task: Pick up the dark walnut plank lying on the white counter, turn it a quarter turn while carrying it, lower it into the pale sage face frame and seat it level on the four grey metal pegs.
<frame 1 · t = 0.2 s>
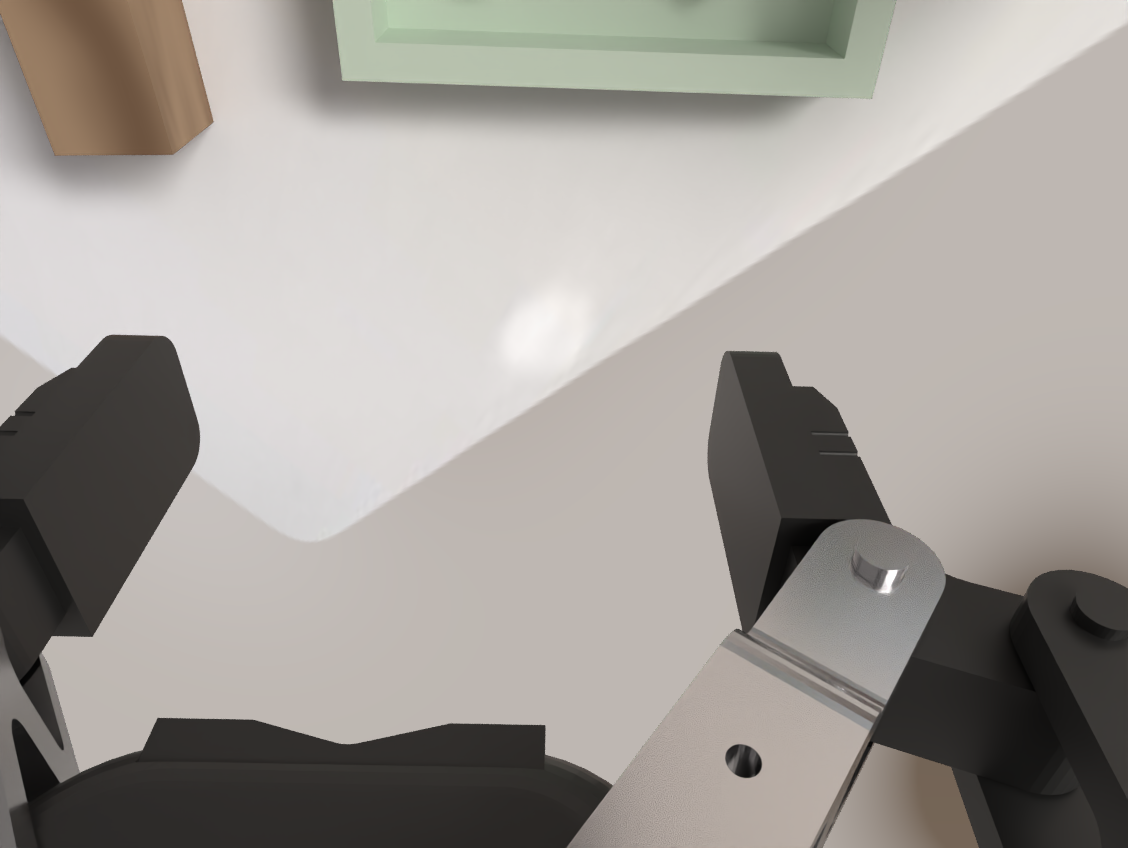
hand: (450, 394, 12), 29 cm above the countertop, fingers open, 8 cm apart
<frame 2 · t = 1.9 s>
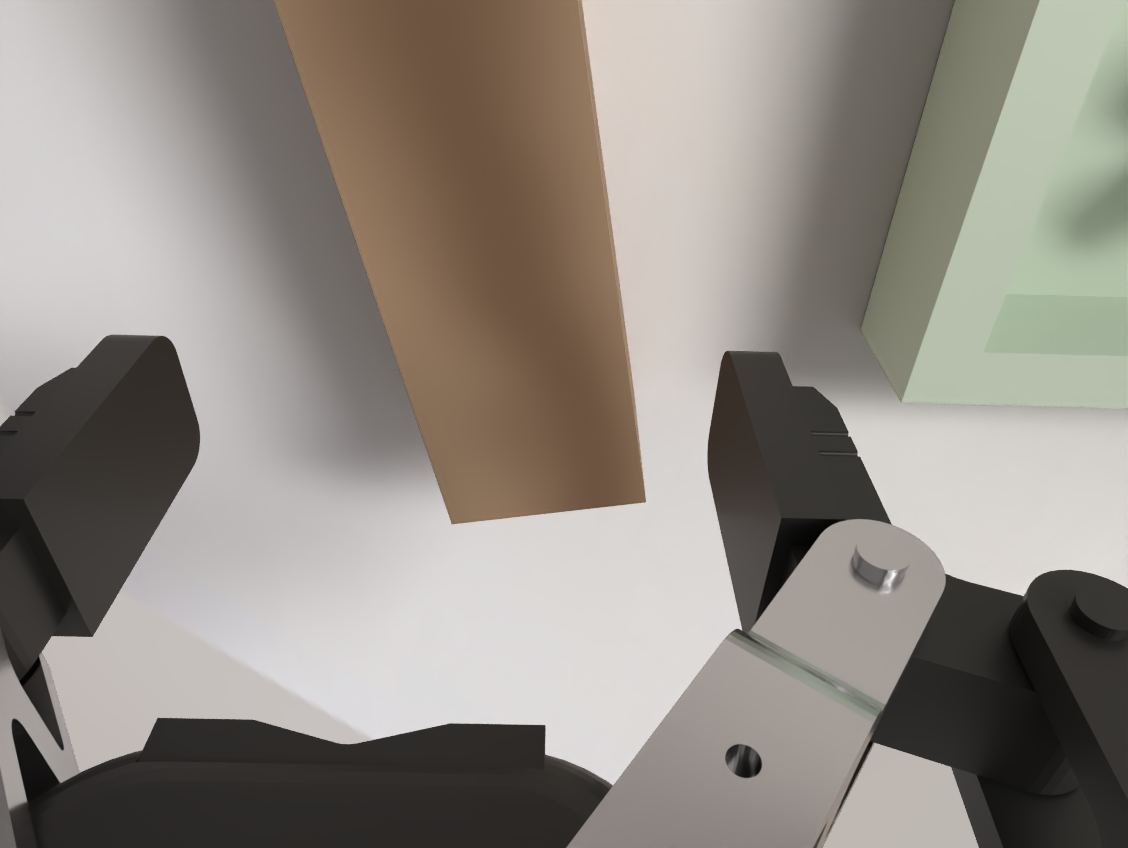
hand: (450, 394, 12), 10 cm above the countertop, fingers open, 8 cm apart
walnut plank: (500, 155, 20), on the countertop
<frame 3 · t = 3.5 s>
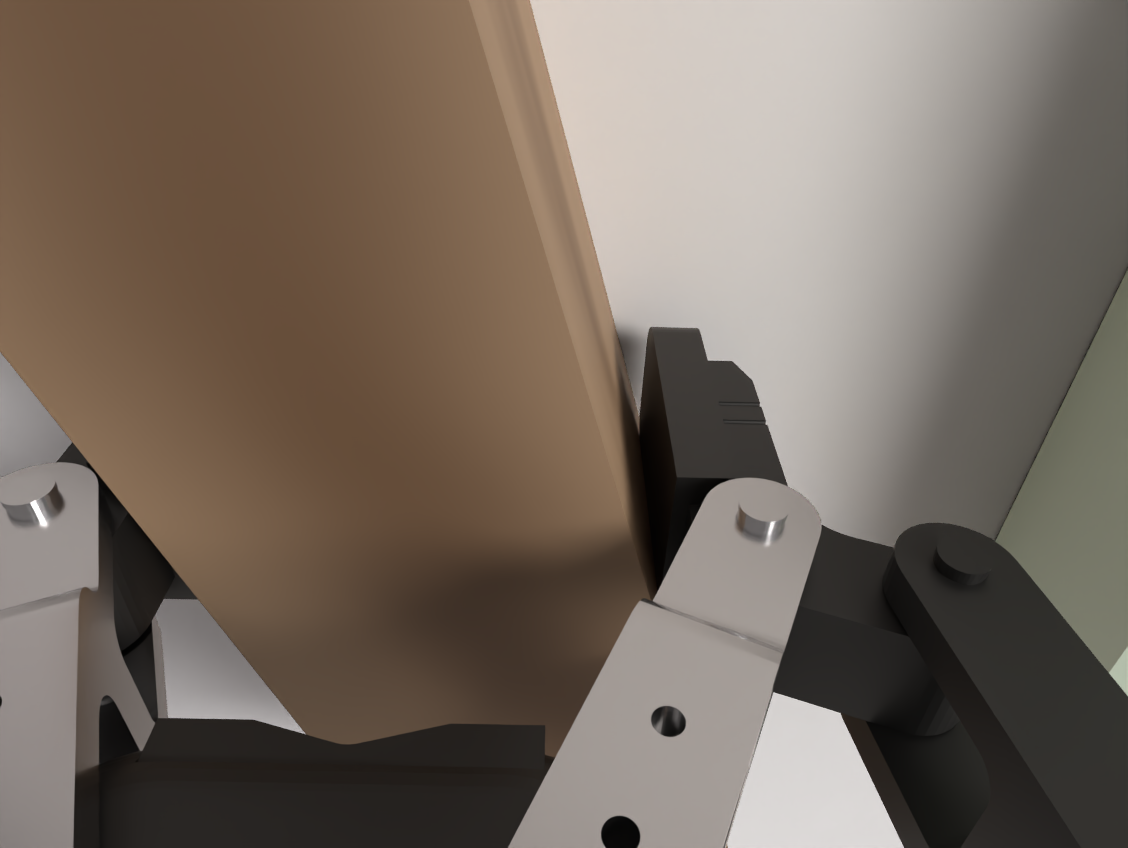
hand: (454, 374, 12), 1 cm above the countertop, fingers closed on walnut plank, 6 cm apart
walnut plank: (460, 346, 13), on the countertop, touching gripper
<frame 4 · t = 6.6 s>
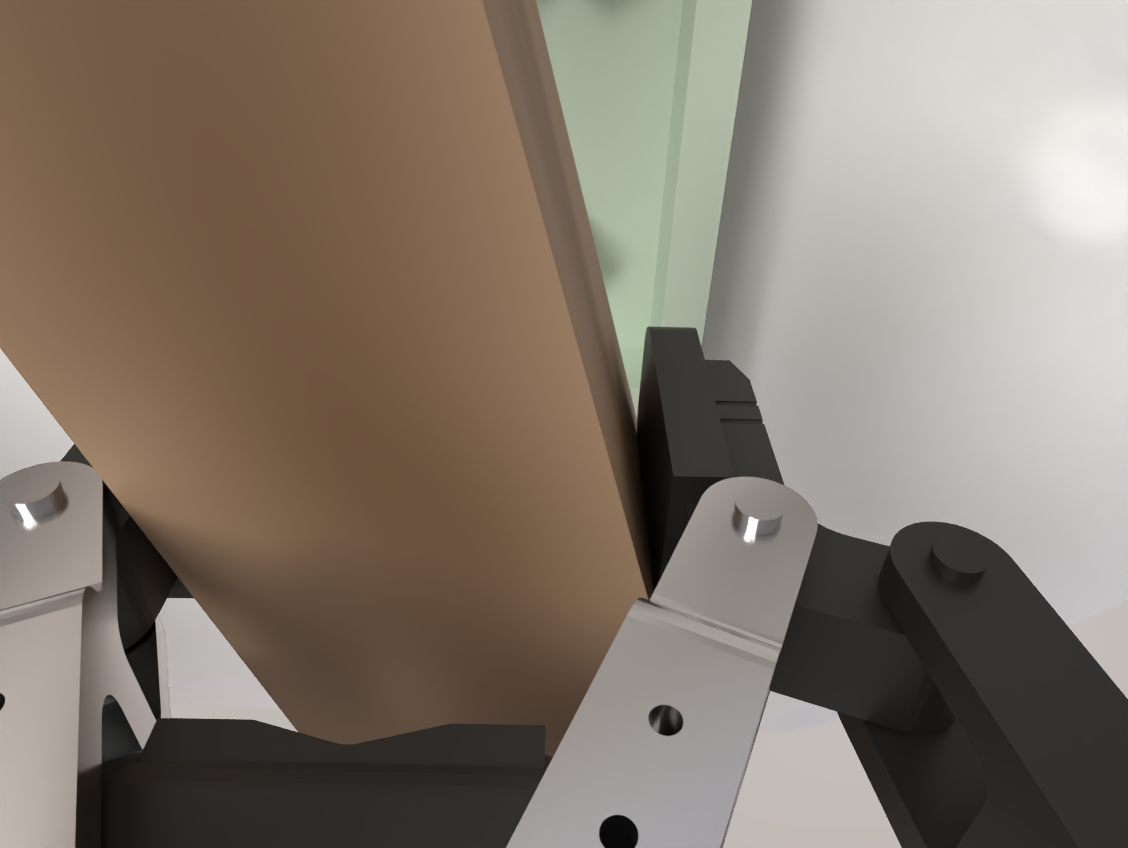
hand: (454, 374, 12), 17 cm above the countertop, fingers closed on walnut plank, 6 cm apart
walnut plank: (459, 345, 13), point 17 cm above the countertop, touching gripper
peg frame: (520, 85, 26), on the countertop
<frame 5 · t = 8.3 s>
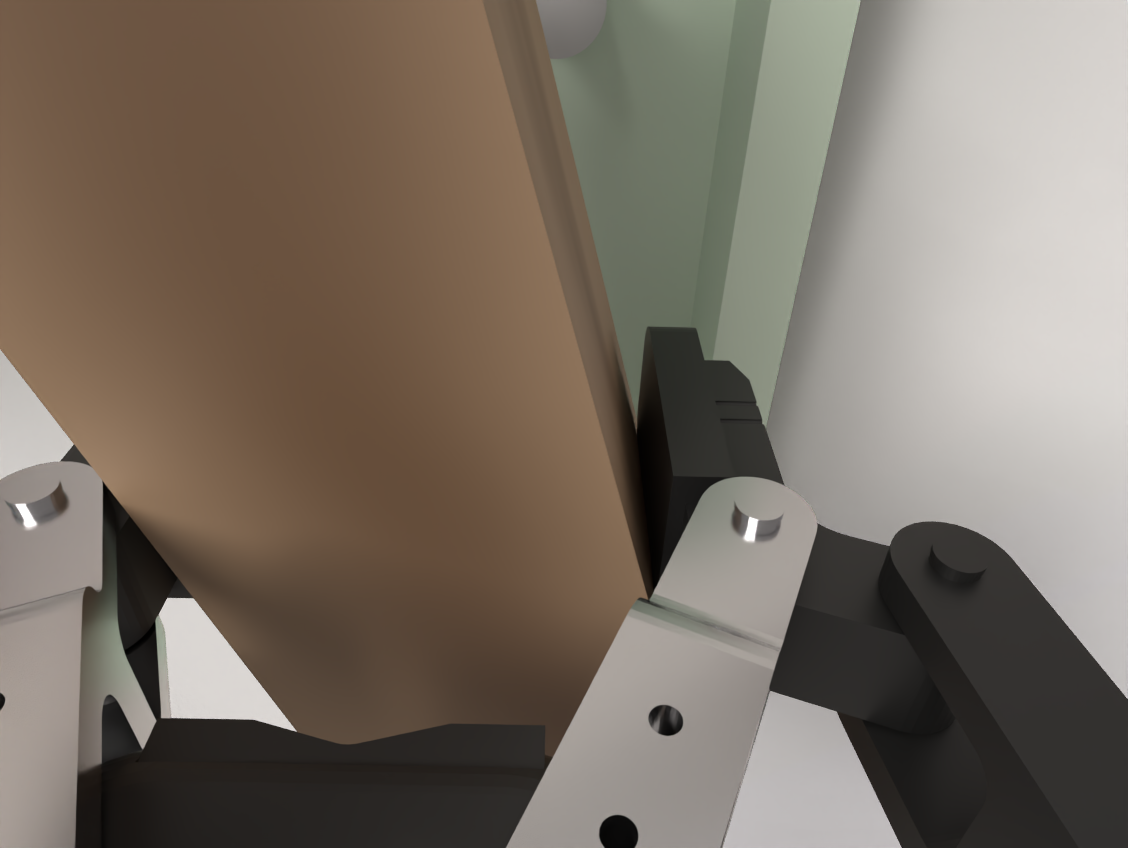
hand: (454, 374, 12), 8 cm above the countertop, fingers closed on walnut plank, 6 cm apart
walnut plank: (459, 345, 13), point 7 cm above the countertop, touching gripper
peg frame: (493, 195, 19), on the countertop
when the fingers open (5 cm above the countertop, at t = 9.9 s): walnut plank drops 2 cm, resting on peg frame.
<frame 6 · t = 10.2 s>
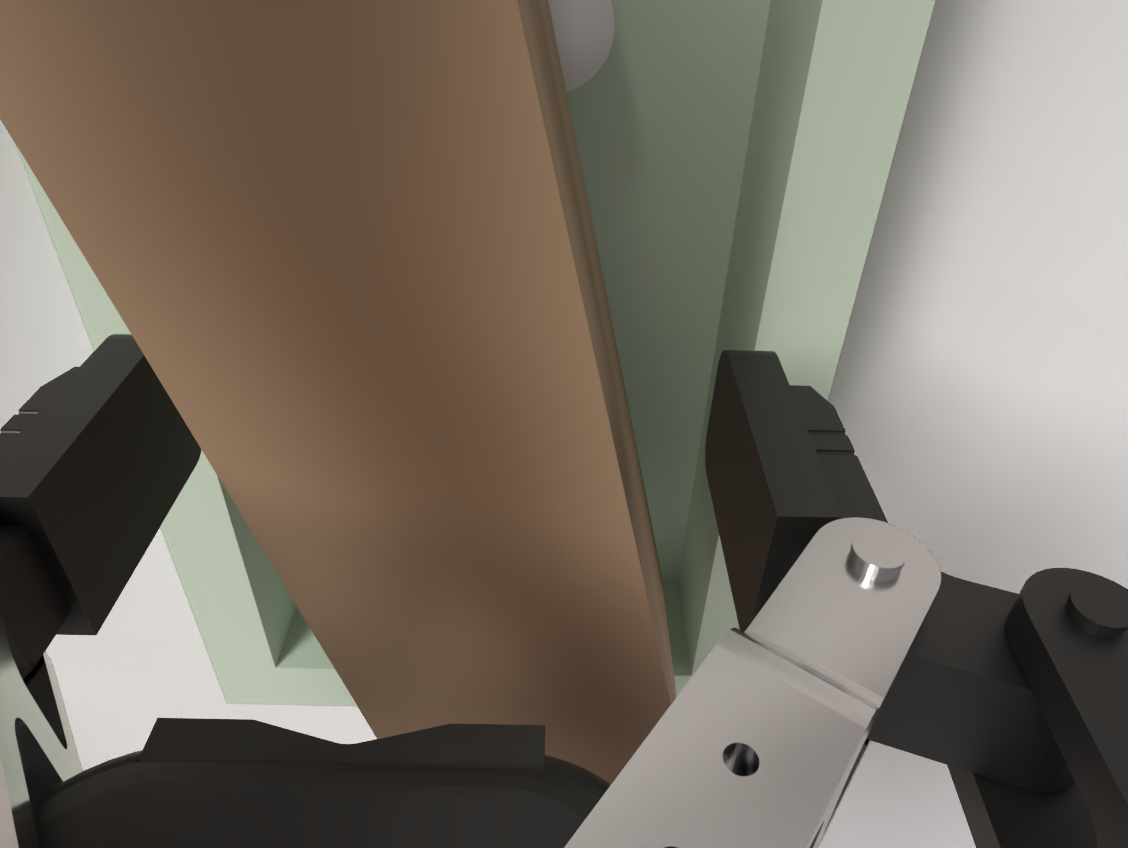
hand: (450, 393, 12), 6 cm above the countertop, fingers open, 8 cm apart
walnut plank: (463, 298, 14), point 3 cm above the countertop, touching peg frame
peg frame: (482, 240, 16), on the countertop
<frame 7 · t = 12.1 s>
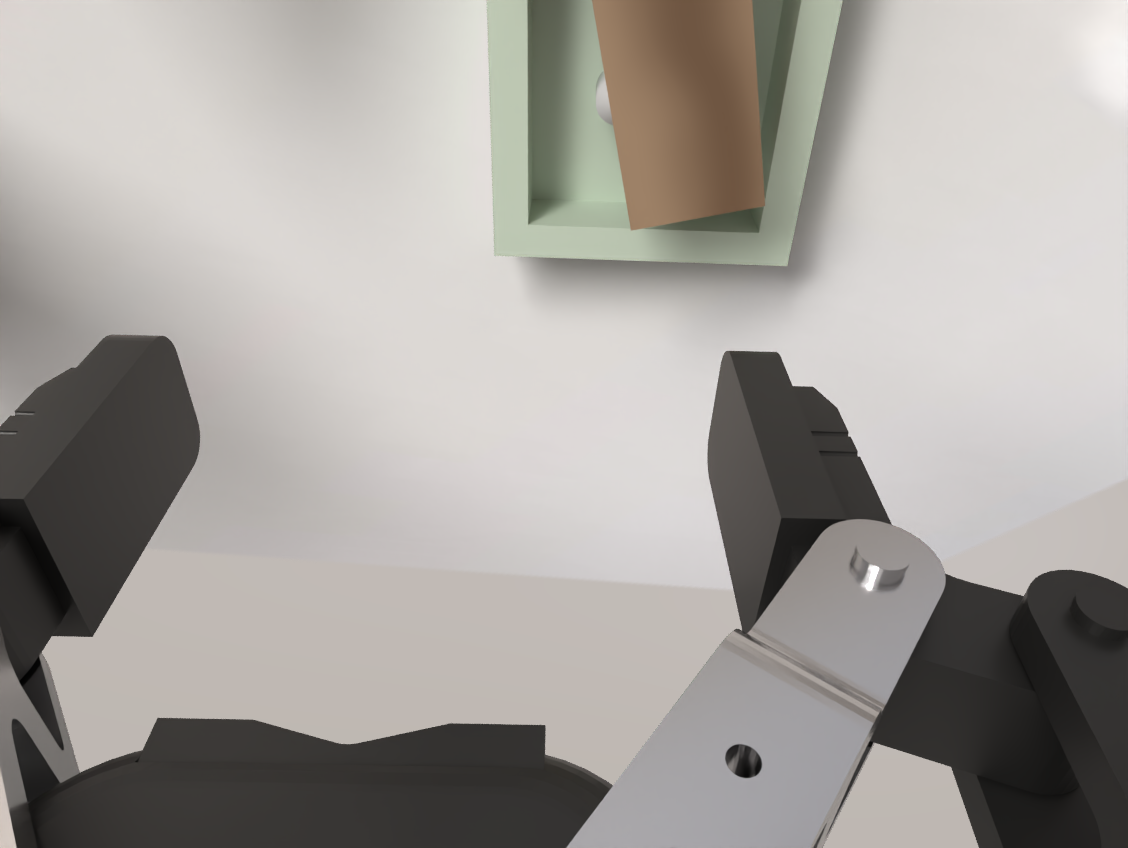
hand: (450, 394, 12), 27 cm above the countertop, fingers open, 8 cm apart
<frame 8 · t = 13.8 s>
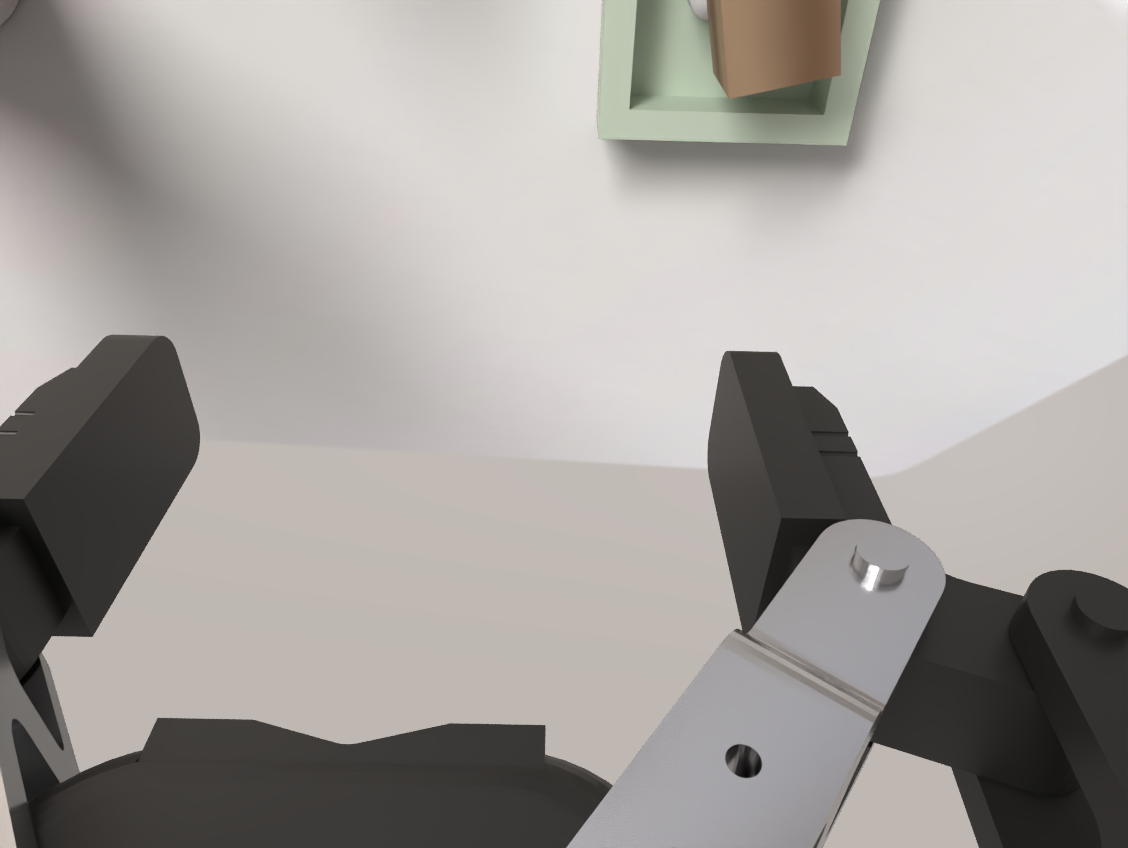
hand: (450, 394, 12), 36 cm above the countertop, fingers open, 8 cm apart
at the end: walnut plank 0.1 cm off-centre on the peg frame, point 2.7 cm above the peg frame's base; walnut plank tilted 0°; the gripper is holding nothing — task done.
